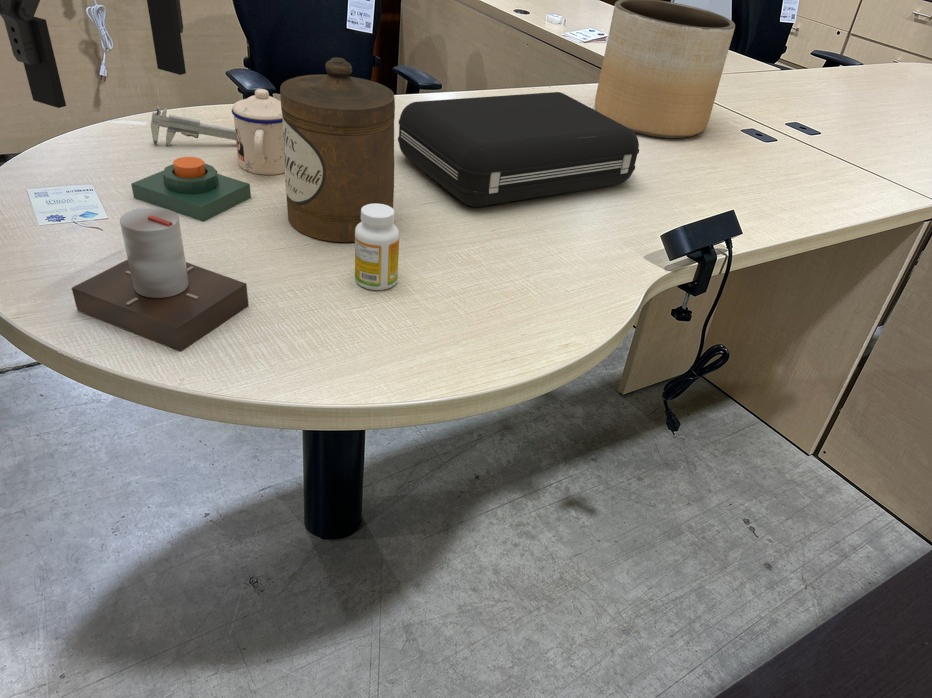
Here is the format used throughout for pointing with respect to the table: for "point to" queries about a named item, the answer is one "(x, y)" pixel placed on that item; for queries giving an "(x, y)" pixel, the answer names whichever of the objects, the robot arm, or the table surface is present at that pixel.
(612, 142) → the briefcase
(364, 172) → the wooden container
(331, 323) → the table surface
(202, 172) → the button
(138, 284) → the dial
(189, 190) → the button block
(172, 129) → the caliper
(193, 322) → the brown rectangular base
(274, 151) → the teacup with lid
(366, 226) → the supplement bottle
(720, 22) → the planter
